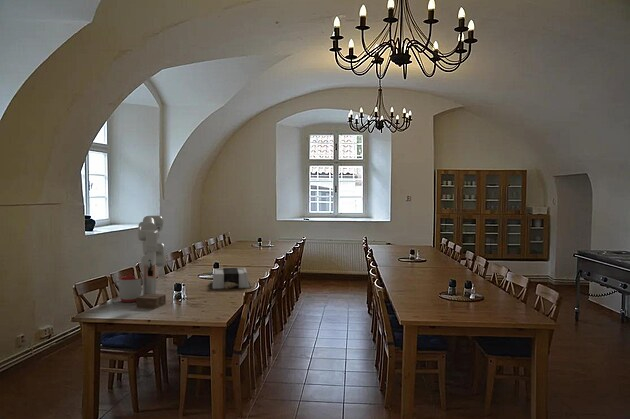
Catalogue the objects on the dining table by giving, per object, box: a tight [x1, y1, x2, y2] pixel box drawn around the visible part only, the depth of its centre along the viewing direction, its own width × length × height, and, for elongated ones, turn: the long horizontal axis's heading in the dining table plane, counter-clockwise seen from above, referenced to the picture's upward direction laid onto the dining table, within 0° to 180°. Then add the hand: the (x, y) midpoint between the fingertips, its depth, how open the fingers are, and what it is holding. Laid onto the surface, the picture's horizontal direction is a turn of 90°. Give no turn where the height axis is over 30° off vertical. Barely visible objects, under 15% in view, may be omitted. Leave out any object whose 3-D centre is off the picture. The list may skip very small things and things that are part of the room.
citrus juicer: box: [118, 272, 143, 304], centre depth 359 cm, size 16×17×20 cm
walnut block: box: [135, 293, 167, 310], centre depth 345 cm, size 14×14×7 cm
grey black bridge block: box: [209, 267, 252, 290], centre depth 421 cm, size 35×33×12 cm
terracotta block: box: [146, 265, 158, 279], centre depth 344 cm, size 6×6×8 cm
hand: (151, 274), depth 344 cm, fingers closed on terracotta block, 6 cm apart
